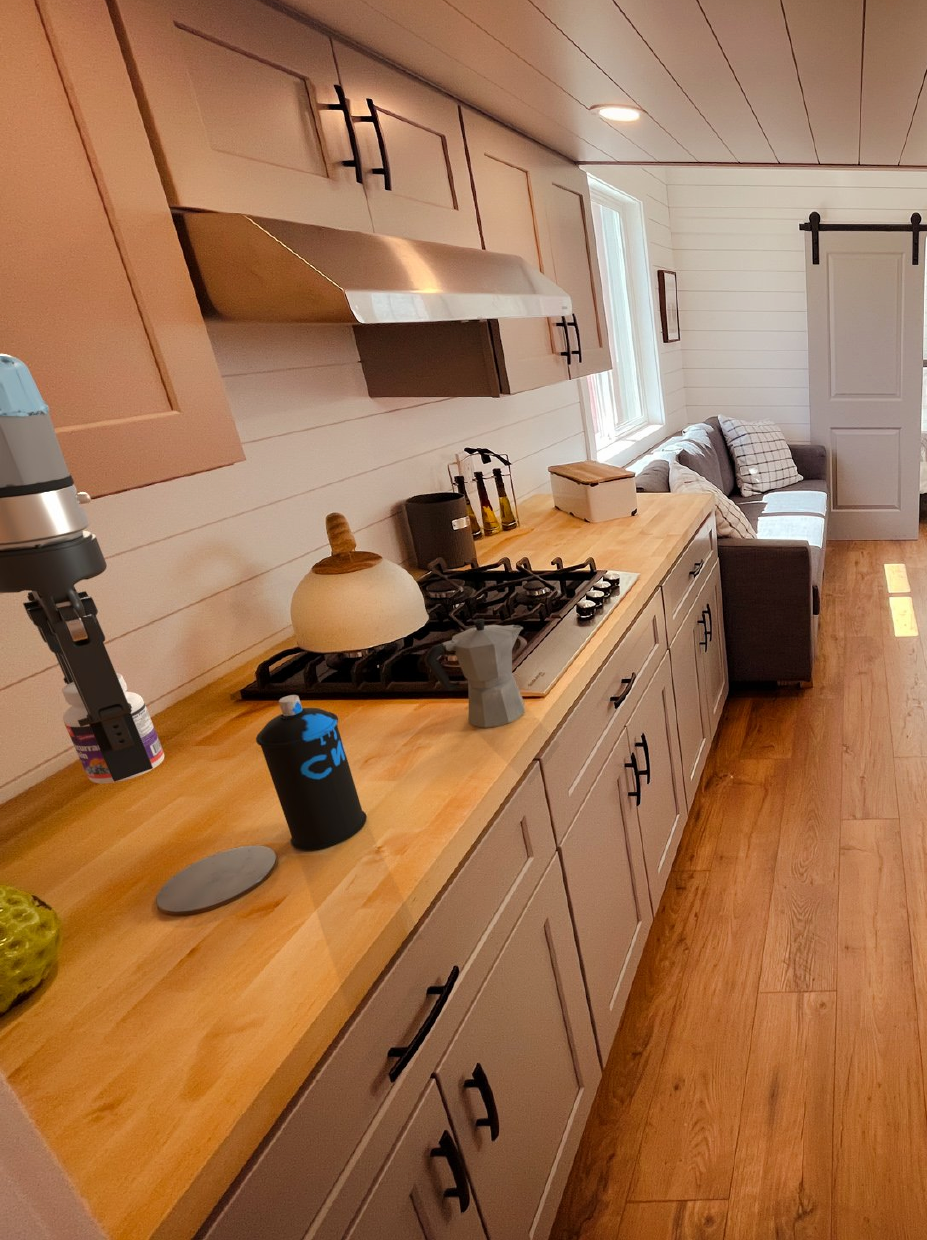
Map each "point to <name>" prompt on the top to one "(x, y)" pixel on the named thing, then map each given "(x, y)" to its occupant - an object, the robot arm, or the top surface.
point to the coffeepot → (484, 672)
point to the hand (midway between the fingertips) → (125, 762)
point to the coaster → (216, 880)
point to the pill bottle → (88, 743)
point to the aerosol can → (311, 775)
